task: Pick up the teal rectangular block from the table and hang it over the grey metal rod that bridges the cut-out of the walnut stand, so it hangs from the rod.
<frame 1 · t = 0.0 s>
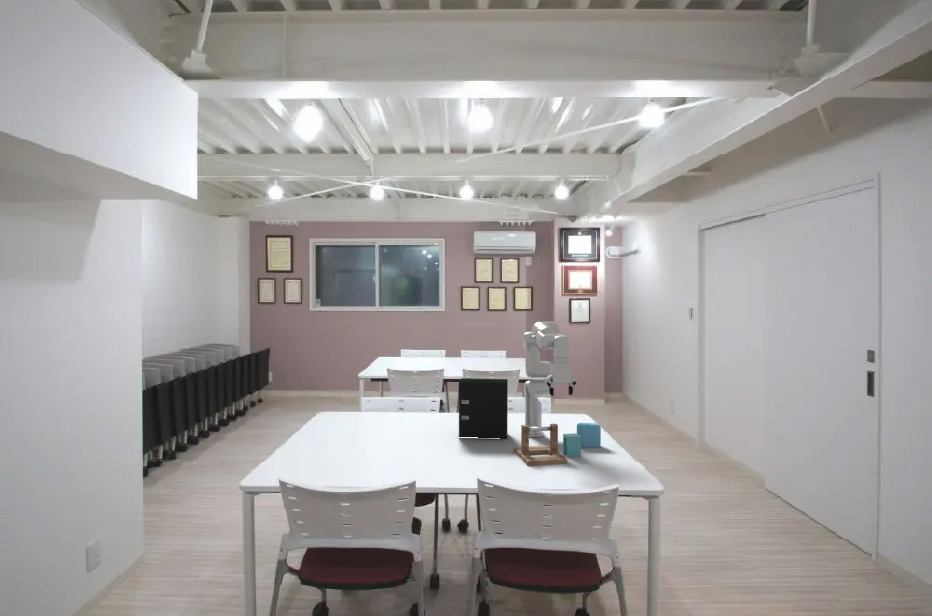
hand: (561, 395, 265), 31 cm above the table, tool pointing down, fingers open, 9 cm apart
hook stand: (539, 456, 267), on the table
data package: (588, 446, 287), on the table
teal rectangular block: (571, 455, 270), on the table
binder: (483, 436, 307), on the table
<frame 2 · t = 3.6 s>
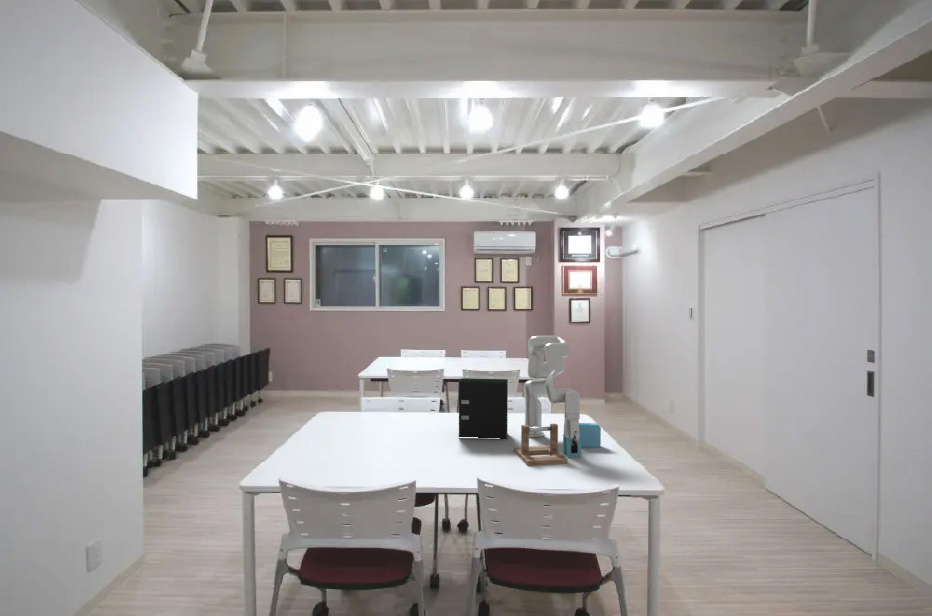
hand: (571, 450, 270), 2 cm above the table, tool pointing down, fingers closed on teal rectangular block, 6 cm apart
teal rectangular block: (571, 455, 270), on the table, touching gripper
everything else where it was.
when the fingers open (11 cm above the table, at t = 10.1 s): teal rectangular block drops 2 cm, resting on hook stand.
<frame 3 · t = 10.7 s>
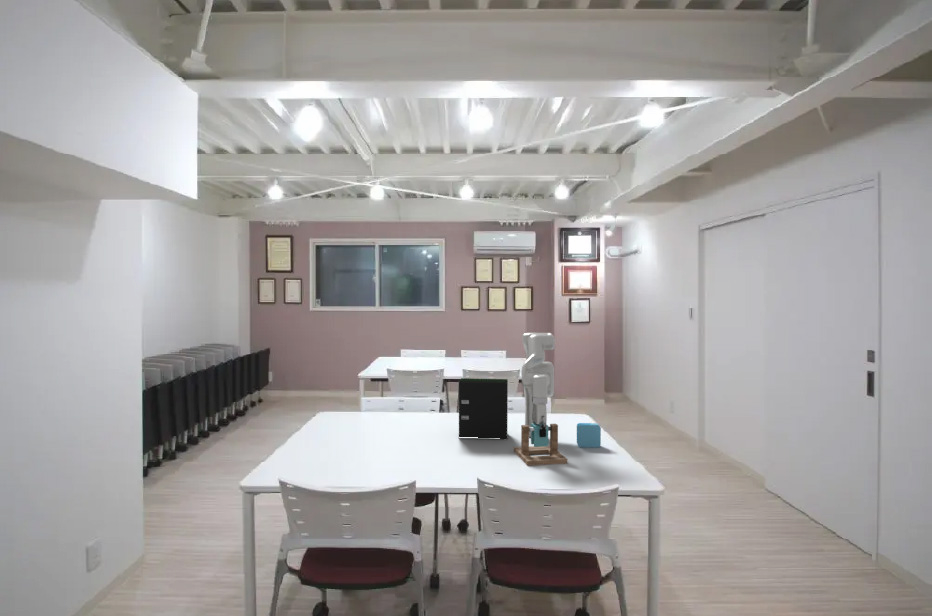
hand: (539, 434, 267), 11 cm above the table, tool pointing down, fingers open, 9 cm apart
teal rectangular block: (539, 444, 267), point 6 cm above the table, touching hook stand
everything else where it was.
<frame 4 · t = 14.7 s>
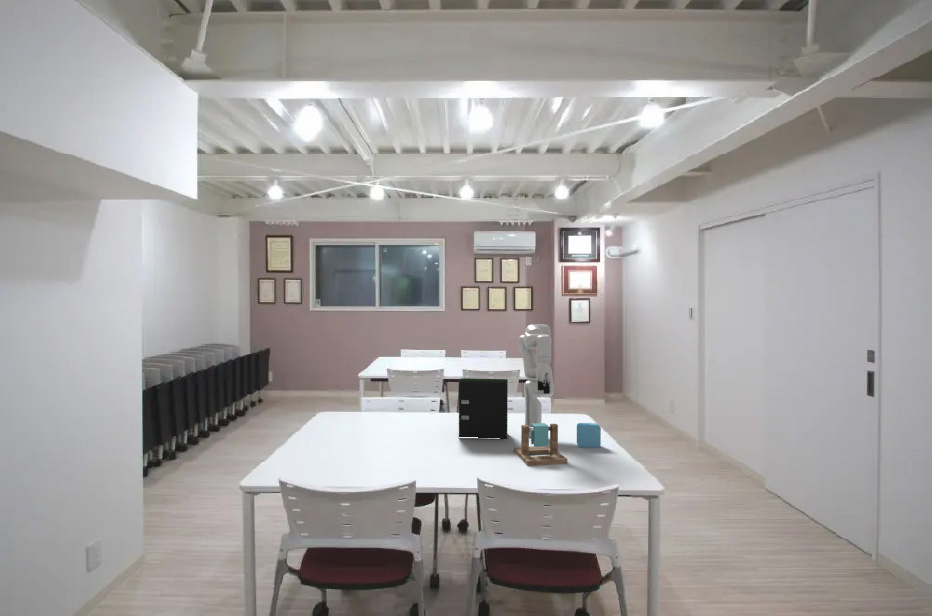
hand: (543, 391, 279), 30 cm above the table, tool pointing down, fingers open, 9 cm apart
nothing on the table moved.
at the end: teal rectangular block inside the target area on the hook stand (0.2 cm from its centre), point 6.0 cm above the hook stand's base; teal rectangular block touching hook stand; the gripper is holding nothing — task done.
